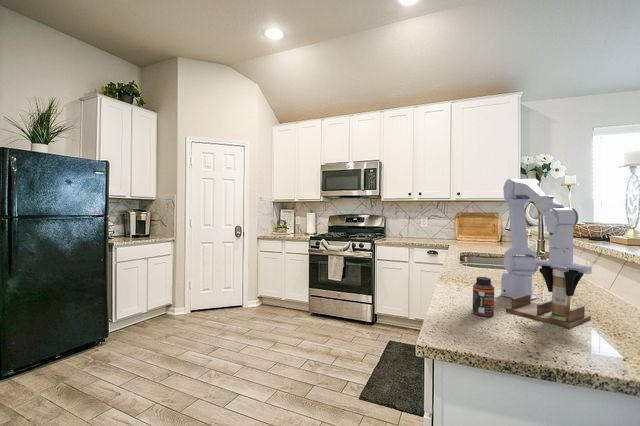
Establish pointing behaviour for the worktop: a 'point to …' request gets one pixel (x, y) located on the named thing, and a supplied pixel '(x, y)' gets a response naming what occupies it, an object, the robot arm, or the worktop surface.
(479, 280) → the supplement bottle
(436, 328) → the worktop surface
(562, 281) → the sprinkles bottle
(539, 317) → the slot rack
